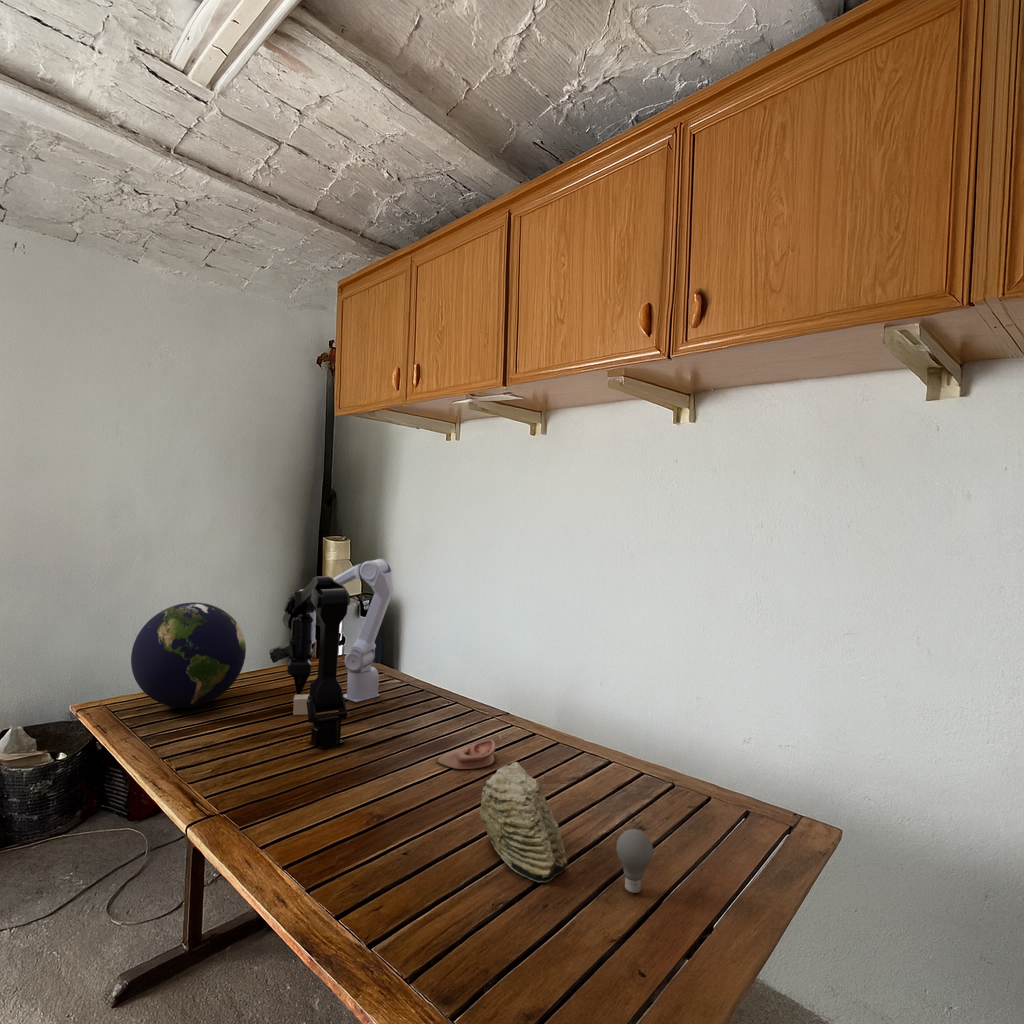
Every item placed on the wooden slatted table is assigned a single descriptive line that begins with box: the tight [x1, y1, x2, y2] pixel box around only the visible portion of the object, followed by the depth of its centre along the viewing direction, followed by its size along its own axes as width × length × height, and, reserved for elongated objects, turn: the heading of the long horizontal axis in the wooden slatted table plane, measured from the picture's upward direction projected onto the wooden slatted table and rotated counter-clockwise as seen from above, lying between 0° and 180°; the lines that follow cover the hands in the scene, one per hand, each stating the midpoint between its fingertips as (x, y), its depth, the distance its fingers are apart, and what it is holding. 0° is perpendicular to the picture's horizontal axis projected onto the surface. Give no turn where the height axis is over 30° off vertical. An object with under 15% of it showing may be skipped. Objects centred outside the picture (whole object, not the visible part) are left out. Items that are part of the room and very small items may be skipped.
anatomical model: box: [437, 739, 496, 770], centre depth 155 cm, size 13×4×12 cm
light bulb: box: [615, 828, 654, 894], centre depth 106 cm, size 6×6×10 cm
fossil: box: [479, 761, 569, 883], centre depth 114 cm, size 9×18×15 cm, turn 46°
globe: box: [130, 601, 247, 708], centre depth 186 cm, size 30×30×30 cm
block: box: [292, 693, 310, 716], centre depth 184 cm, size 4×5×5 cm
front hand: (299, 688), depth 183 cm, fingers open, 9 cm apart
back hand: (304, 668), depth 204 cm, fingers open, 7 cm apart
